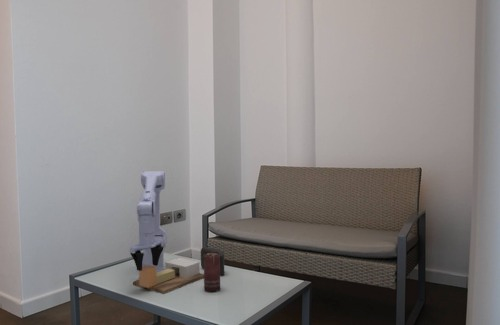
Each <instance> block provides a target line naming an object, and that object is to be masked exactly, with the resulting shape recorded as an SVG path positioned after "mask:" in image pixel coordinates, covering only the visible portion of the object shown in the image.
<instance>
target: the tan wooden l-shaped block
mask: <svg viewBox="0 0 500 325" xmlns="http://www.w3.org/2000/svg"><path fill="white" fill-rule="evenodd" d="M138 276H139V279H138V280H139V285H140V286H143V287H147V288H149V287H152V286H155V285H156V284H159V283H161V282H164V281H167V280H170V279H173V278H175V270H172V269H165V270H162V271H159V272H156V267H154V266H150V265H145V266H142V271H139V270H138ZM140 286H139V287H140ZM143 287H142V288H143Z"/></svg>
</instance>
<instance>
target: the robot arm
mask: <svg viewBox="0 0 500 325" xmlns="http://www.w3.org/2000/svg"><path fill="white" fill-rule="evenodd" d="M140 183H141V186H142V188H143V190H142V192H141V194H140V200H139V202H138V203H137V205H136V214H137V222H138V244H135V245H134V246H131V247H129V254H130V256H131V257H132V259H133V261H134V264H135V268H136V270H137V271H138V272H139V271H142V266H145V265H150V266H154V267H156V272H159V271H162V270H165V269H166V266H165V264H164V260H165V259H164V249H166V247H167V241H168V240H167V231H166V230H165V229H164V228H162V227H161V226H160V222H161V220H160V219H161V218H160V217H161V215H160V214H161V213H160V212H161V211H160V206H161V205H160V204H161V202H160V201H161V200H160V194H161V191H162V190H165V187H166V173H165V171H164V170H158V171H156V170H154V171H153V170H151V171H150V170H149V171H144V170H142V171H141V174H140Z"/></svg>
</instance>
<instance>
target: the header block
mask: <svg viewBox="0 0 500 325" xmlns="http://www.w3.org/2000/svg"><path fill="white" fill-rule="evenodd" d="M200 266H201V264H200V262H199V261H195V260H191V259H187V258H182V257H178V258H174V259H171V260H167V261H165V264H164V267H166V269H172V270H175V274H176V273H180V277H182V278H185V279H186V278H189V277H192V276H194V275H197V274H200V273H201V272H200V271H201V270H200V269H201V267H200Z"/></svg>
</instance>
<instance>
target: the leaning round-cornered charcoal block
mask: <svg viewBox="0 0 500 325" xmlns="http://www.w3.org/2000/svg"><path fill="white" fill-rule="evenodd" d="M207 252H218V253H219V255H220V276H224V274H225V254H224V252H223V251H222V250H221V249H217V248H213V247H207V246H205V247H202V248H201V249H200V266H201V267H202V269H203V270H204V254H205V253H207ZM201 267H200V268H201Z"/></svg>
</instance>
